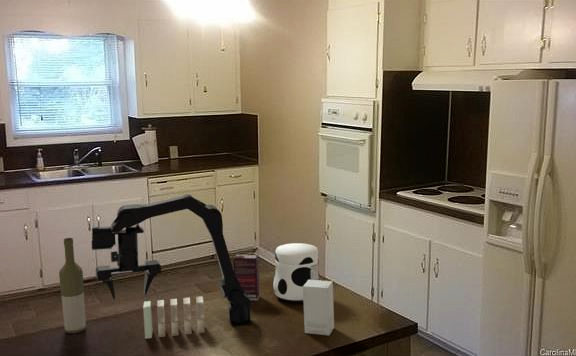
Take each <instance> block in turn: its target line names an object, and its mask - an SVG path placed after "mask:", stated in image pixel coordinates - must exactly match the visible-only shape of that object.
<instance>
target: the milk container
mask: <svg viewBox="0 0 576 356" xmlns="http://www.w3.org/2000/svg"><path fill="white" fill-rule="evenodd" d="M274 260H275V262H274V263H275V264H274V265H275V274H274V278H273V282H272V283H273V285H272V286H273V292H274V294H275V295H276V297H277V298H279V299H281V300H283V301H286V302H295V303H298V302H299V303H300V302H303V286H304V285H305V283H306V282H307V281H308V280H321V277H320V273H319V250H318V247H317V246H315V245H313V244H309V243H300V242H299V243H298V242H297V243H296V242H295V243H293V242H292V243H285V244H281V245H278V246H277V247H276V249H275V254H274ZM303 303H304V302H303Z"/></svg>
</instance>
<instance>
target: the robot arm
mask: <svg viewBox="0 0 576 356" xmlns="http://www.w3.org/2000/svg"><path fill="white" fill-rule="evenodd" d="M184 210H189V211H190V212H192V213H193V214H194V215H196V216H198V217H199V218H201V220H202V222H203V223H204V226H205V228H206V230H207V231H208V234H209V235H210V238H211V242H212V244H213V249H214V252H215V255H216V257H217V262H218V264H219V265H218V266H219V268H220V272H221V279H218V280H217V281H218V283H219V285H220V292H221V294H222V295H223V297H224V298H225V299H227V301H228V303H229V306H228V309H227V311H228V322H229V323H230V324H231V326H232V327H235V326H244V325H251V324H252V320H251V304H252V300H250V298H249V297H248V295H247V294H246V292H245V291H244V290H243V288H242V286H241V285H240V283H239V281H238V279H237V277H236V275H235V273H234V266H233V264H232V263H233V262H232V260H231V257H230V253H229V250H228V247H227V244H226V239H225V236H224V232H223V231H224V225H223V215H222V213H221V211H220V210H219V209H218V208H217V206H215V205H213V204H206V203H204V202H203V201H200V200H199V199H197V198H195V197H194V196H193V195H191V194H183V195H181V196H177V197H171V198H169V199H164V200H159V201H155V202H151V203H146V204H142V203H141V204H135V203H134V204H124V205H122V206H120V207H119V208H118V209H117V213H116V218H115V219H114V220H113V221H112V223H111V224H110V226H92V228H91V250H92V251H96V250H97V251H99V250H101V251H103V250H112V249H113V248H114V246H117V250H116V251H110V262H111V263H117V267H113V268H111V266H110V265H109V264H108V265H100V266H96V268H95V277H96V280H97V281H100V282H101V283H102V284H103V283H104V284H106V285H107V287H108V288H109V291H110V295H111V297H112V299H113V300H116V293H115V288H114V286H115V285H114V281H113V278H112V275H114V276H115V275H116V276H117V275H124V274H131V273H139V272H144V283H143V295H144V296H147V294H148V291H149V289H150V286H151V283H152V282H153V280H154V278H155V277H158V275H159V274H162V265H161V263H160V262H159V261H158V260H157V259H152V260H146V261H145V262H144V264H139V243H138V242H139V241H138V239H139V238H138V237H139V236H138V234H143V233H144V232H145V230H144V228H143V227H142V226H140V225H139V224H140V223H142V222H145V221H146V220H149V219H150V218H151V219H152V218H156V217H158V216H163V215H167V214H172V213H176V212H179V211H184ZM116 235H117V245H116Z"/></svg>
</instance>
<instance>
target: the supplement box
mask: <svg viewBox="0 0 576 356" xmlns="http://www.w3.org/2000/svg"><path fill="white" fill-rule="evenodd" d="M232 263H233V264H232V266H233V270H234V273H235V275H236V277H237V279H238V281H239V283H240V285H241V286H242V288H243V290H244V291H245V292H246V294H247V295H248V297H249V298H250V300H251V301H258V300H259V298H260V272H259V271H260V270H259V268H260V267H259V254H235V255H234V256H233V258H232Z"/></svg>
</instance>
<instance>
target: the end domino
mask: <svg viewBox="0 0 576 356" xmlns="http://www.w3.org/2000/svg"><path fill="white" fill-rule="evenodd" d="M195 302H196V303H195V304H196V305H195V306H196V326H197V328H196V329H197V334H202V333H204V334H205V333H206V332H205V331H206V330H205V313H204V312H205V310H204V309H205V307H204V297H203V296H200V295H199V296H195Z"/></svg>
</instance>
